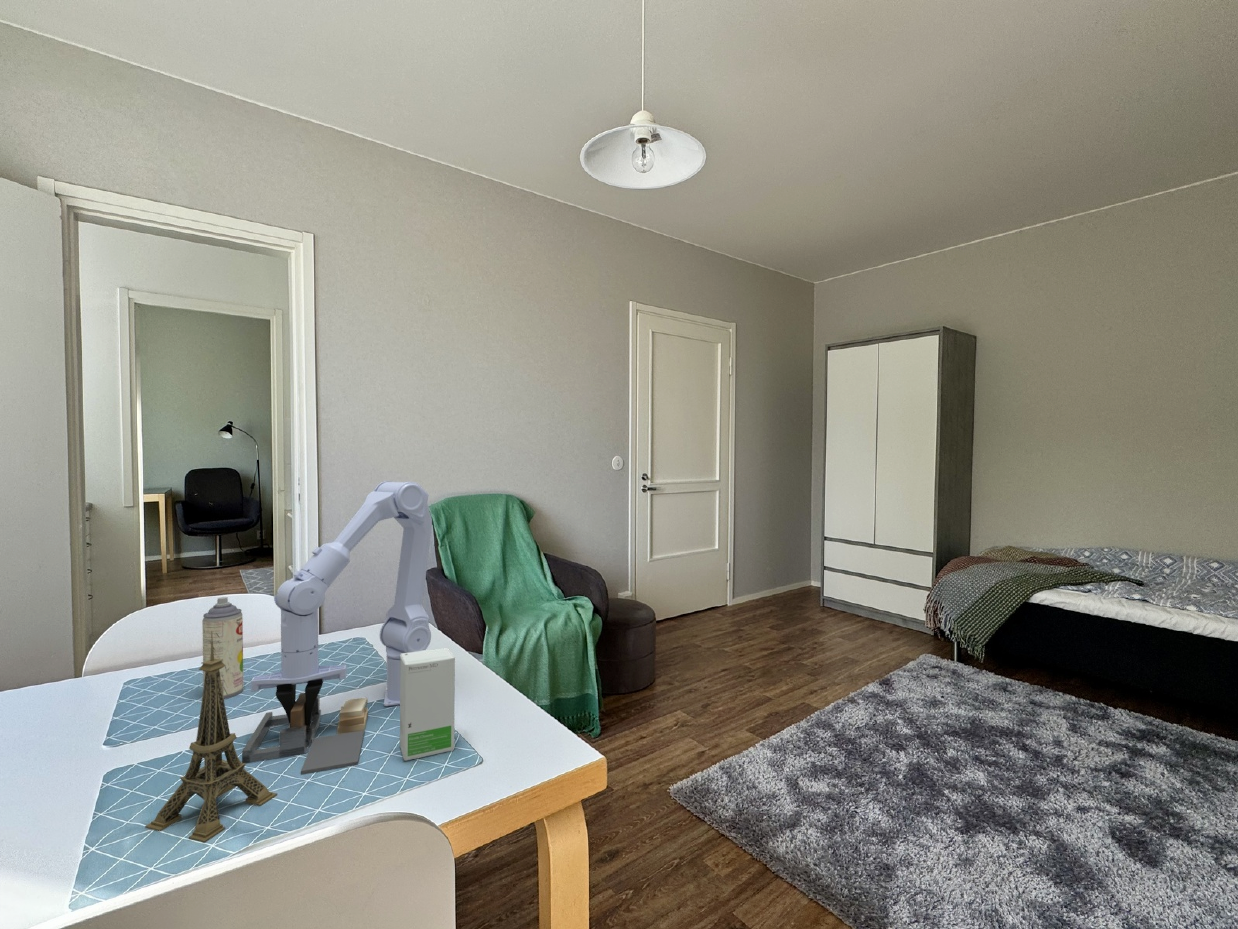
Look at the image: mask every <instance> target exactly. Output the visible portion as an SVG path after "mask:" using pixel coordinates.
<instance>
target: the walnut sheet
mask: <svg viewBox="0 0 1238 929" xmlns="http://www.w3.org/2000/svg"><path fill="white" fill-rule="evenodd" d="M305 717H306V698H305V692H302V693H301V692H300V693H299V694H298V697H297V699H296V701H295V704H294V706H293V708H292V710H291V727H298V726H305ZM310 725H311V724H310ZM310 725H309V726H306V734H307V732H308V729H309V727H310Z"/></svg>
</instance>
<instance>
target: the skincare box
mask: <svg viewBox="0 0 1238 929" xmlns="http://www.w3.org/2000/svg"><path fill="white" fill-rule="evenodd" d="M400 662H401V670H400V704H399V748H400V751H401V754H402V758H403V760H404V761H410V760H413V759H420V758H424V757H425V758H426V757H428V756H429V757H430V756H433V755H437V754H443V753H448V752H453V751H454V750H455V709H456V708H455V704H456V703H455V701H456V700H455V696H456V695H455V690H456V689H455V688H456V686H455V685H456V684H455V683H456V682H455V681H456V680H455V677H456V674H455V673H456V668H455V667H456V666H455V665H456V664H455V663H456V657H455V656H454V654H453V653H452V651H451V650H450V649H449V647H446V648H445V647H444V648H436V649H426V650H422V651H418V652H410V653H402V654H400Z"/></svg>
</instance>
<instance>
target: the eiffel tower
mask: <svg viewBox="0 0 1238 929" xmlns="http://www.w3.org/2000/svg"><path fill="white" fill-rule="evenodd" d="M211 640H212V631H211ZM221 661H223V659H216V658H214V651H213V641H212V642H211V656H210V660H207V661H204V662H203V661H202V662H201V663H200V664H202V665H201V666H200V667H199V668H198V670H199V671H202V672H203V671H205V680H204V688H202V697H201V706H200V713H199V717H198V718H199V720H198V726H197V733H196V739H195V741H192V742H191V743H190V745H189V748H188V749H189V750H191V751H192V756H191V760H190V763H189V766H188V769H187V770H186V772H185V774H184V776H180V780H181V782H182V783H181V784H180V785H179V786H178V787H177V789H176V790H175V791H174V792H173V794H172V795H171V796H170V797H169V798H168V800H167V801H166V803H164V805H163V806H162V807H161V809H160V810H159V812H158V813H157V814H156V816H155V818H154V820H153V821H151V822H150V823H148V824H146V825H145V826H144V828H145V829H149V830H153V831H156V832H162V831H163V830H165V829H167V828H169V827H171V826H173V824H175V823H176V824H177V822H179V821H180V820H182V819H183V814H181V811H182V809H184V807H185V806H186V804H187V803H188V801H189V800H190V798H192V797H193V796H194V795H197V796H198V797H200V798H201V799H202V800H203V804H202V806H201V810H200V812H199V814H198V815H199V816H198V818H197V819H196V820H197V821H196V824H195V827H194V830H193V831H192V833H191V835H189V837H188V839H189V840H191V841H196V842H200V843H207V842H209V841H210V840H211V839H213V838H214V837H216V836H218V835H219V834H221V833H222V832H223V831H225V830H226V829H227V828H226V826H224V824H223V823H221V819H220V815H219V814H220V813H219V809H218V803H217V797H218V798H220V797H221V796H223V795H224V794H226V793H228V792H229V791H231V790H234V789H235V788H236V787H237V788H238V789H240V791H241V792H243V794H244V795H246V796H247V797H246V798H245V799H244V800H245V804H249V805H252V806H256V807H257V806H258V807H262V806H263V805H264V804H266V803H268V802H270V801H271V800H273V799H274V798H275V797H277V796H278V793H277V792H273V791H269V789H268V787H267V786H266V785H264V784H263V783H262V782H261V781H259V780H258V779H257V778H256V777H255V776H254V775H252V774H251V773H250V772H248V771H247V770H246V769H245V766H246V764H247V763H242V760H240V758H239V756H238V754H237V751H236V748H235V745H234V741H235V740H237V739H238V737H237V734H236V733H234V732H233V733H231V732H230V726H229V721H228V715H227V709H226V704H225V699H224V697H223V691H222V684H221V678H220V671H219V669H221V668H222V667H224V666H226V665H225V664H223V663H222V662H221ZM223 753H224V756H225V759H226V760H224V759H223ZM203 759H204V766H202V767H201V765H202V763H203V762H202V761H203Z"/></svg>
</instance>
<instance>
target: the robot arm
mask: <svg viewBox="0 0 1238 929" xmlns="http://www.w3.org/2000/svg"><path fill="white" fill-rule="evenodd" d="M373 489H374V490H373V491H372V490H371V492H369V493H368V494H367V496H366V498H365V500H364V503H363V504H362V506H361V507H359V509H358V510H357V512H356V513H355V515H354V516H353V517H352V518H351V519H350V520H349V522H348V523H347V525H345V527H344V528H343V529H342V531H341V532H340V533H339V534H338V536H337V537H336V538H335V540H333V542H327V543H323V544H322V545H321V546H319V547H318V546H316V547H315V548H314V549H313V550H312V551H311V553H312V554H313V555H312V556H311V557H310V558H309V559H308V561H306V562H305V563H304V565H303V566H302V567H301V568H300V569H299V570H295V572H294V573H292V574H293V577H294V578H293V577H292V578H290V579H287V580H285V581H284V582H283V583H282V584H281V585H280V586H279V587H278V589H277V591H276V592H277V594H275V595H274V596H273V601H274V603H275V605H276V606H277V608H279V609H280V659H281V660H280V661H281V662H280V666H281V668H280V669H281V671H277V672H273V673H269V674H263V675H257V676H253V677H252V679H251V680H250V692H251V693H254V692H259V691H260V690H265V689H273V688H276V692H275V697H276V699H277V700H278V701H279V703H280V705H281V706H282V709H283V710H284V712H285V713H286V714H287V717H288V720H289V724H290V728H291V710H292V708H293V706H294V704H295V702H296V700H297V699H296V696H297V694H296V690H297V685H301V684H306V686H305V689H304V693H305V698H306V717H305V725H306V726H309V725H311V722H312V721H311V720H312V712H313V708H314V704H315V701H316V699H317V696H318V695H320V692H321V690H322V687H323V683H324V681H330V680H337V679H339V680H346V679H347V675H348V674H347V673H348V672H347V664H343V665H341V664H340V665H320V664H319V661H320V659H319V658H320V657H319V610H318V609H319V608H320V607H322V606H323V604H324V602H325V598H326V592H327V590H328V589H329V588H330V587H331V585H333V583H334V581H335V580H336V579H337V578H338V577H339V575H340V574H341V573H342V572H343V571H344V569H345V568H346V567H348V565H349V564H350V561H351V559H350V558H351V556H350V552H351V551H353V549H354V548H355V547H356V546H357V545H358V544H359V543H360V542H361V541H362V540H363V539H364V538H365V536H367V534H369V532H370V531H372V530H373V528H374V527H375V526H376V525H377V524H378V523H380V521H384V520H388V519H393V518H394V519H395V520H396V521H397V523H399V525H400V526H401V527H402V528H403V532H402V537H401V538H402V540H401V548H400V554H399V562H398V572H397V579H396V580H397V581H396V586H395V595H394V602H393V603H394V604H392V606H391V607H390V608H389V609H388V610H387V611H386V616H385V620H384V621H383V622H384V623H383V624H382V625H381V627H380V629H379V630H380V631H379V640H380V642H381V643H382V645H383V646H384V647H385V653H386V690H385V694H384V700H383V706H384V707H389V706H390V707H391V706H397V705H400V670H401V662H400V654H402V653H410V652H418V651H422V650H428V648H429V645H430V643H431V639H432V632H431V629H430V625H429V624H430V617H429V615H428V613H427V611H426V610H425V607H423V604H424V593H425V586H426V585H425V584H426V578H427V570H428V561H429V553H430V551H429V550H430V542H431V534H432V525H433V518H432V515H431V511H430V508H429V505H428V501H429V494H428V492H427V491H426V490H425V489H424V488H423V487H422V486H421V485H420V484H419V483H418V482H415V481H406V482H405V481H393V480H392V481H391V480H385V481H381V482H380V483H378V484H377V485H376V487H375V488H373ZM289 724H288V725H289Z"/></svg>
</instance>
